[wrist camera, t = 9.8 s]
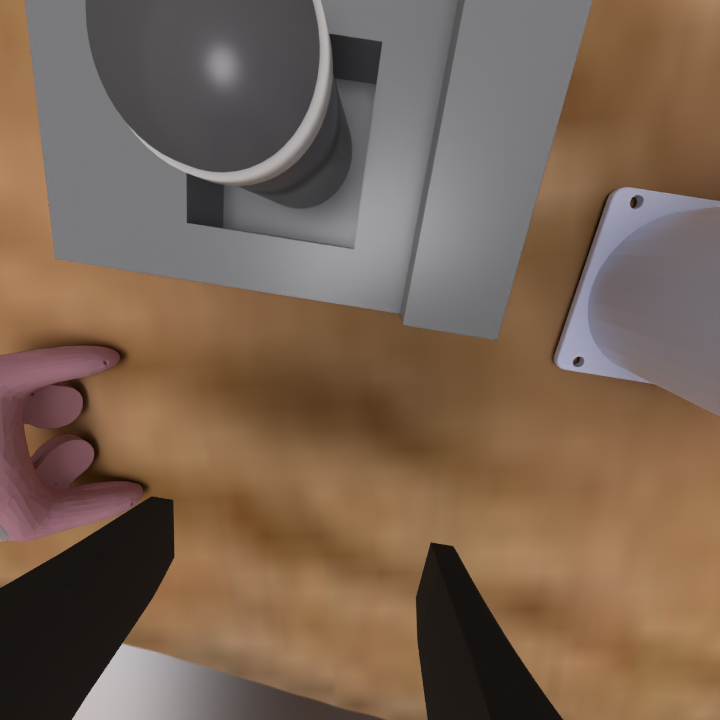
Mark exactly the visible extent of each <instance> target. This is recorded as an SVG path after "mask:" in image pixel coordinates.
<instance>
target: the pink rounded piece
mask: <svg viewBox="0 0 720 720" xmlns="http://www.w3.org/2000/svg"><path fill="white" fill-rule="evenodd" d="M119 360H120V356H119V354H118V352H116V351H115V350H113V349H111V348H107V347H100V346H63V347H54V348H45V349H36V350H29V351H23V352H17V353H11V354H5V355H0V542H1V541H4V540H6V541H16V542H22V541H29V540H34V539H38V538H41V537H45V536H48V535H51V534H55V533H58V532H62V531H65V530H68V529H72V528H75V527H79V526H83V525H86V524H90V523H93V522H97V521H100V520H104V519H107V518H110V517H113V516H115V515H118V514H120V513H122V512H124V511H125V510H127V509H129V508H131V507H132V506H133V505H135V504H136V503H137V502H138V501H139V500H140V499H141V497H142V495H143V489H142V487H141V485H140V484H136V483H133V482H128V481H109V482H98V483H89V484H83V485H76V486H72V485H71V483H72V482H73V481H74V480H75V479H76V478H77V477H78V476H79V475H80V474H82V473H83V472H84V471H85V470H86V469H87V468H88V467H89V466H90V465H91V463H92V461H93V458H94V450H93V448H92V446H91V445H90V444H89V443H88V442H86V441H84V440H83V439H81V438H80V437H78V436H76V435H72V434H63V435H59V436H56V437H54V438H52V439H50V440H49V441H47V442H46V443H44V444H43V445H42V446H41V447H40V448H39V449H38V450H37V451H36V452H35V453H34V454H33V456H32V457H31V458H30V455H29V451H28V446H27V442H26V437H25V431H24V424H23V423H25V424H30V425H33V426H35V427H38V428H46V429H52V428H59V427H62V426H65V425H68V424H70V423H71V422H73V421H74V420H75V419H76V418H77V417H78V416H79V414H80V412H81V410H82V406H83V399H82V396H81V394H80V393H79V392H78V391H77V390H76V389H74V388H73V387H71V386H69V385H67V384H64V383H61V382H62V381H67V380H72V379H77V378H82V377H87V376H92V375H95V374H98V373H100V372H103V371H105V370H108V369H109V368H111V367H113V366H114V365H116V364H117V363H118V362H119Z"/></svg>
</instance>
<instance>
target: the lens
mask: <svg viewBox="0 0 720 720" xmlns="http://www.w3.org/2000/svg"><path fill="white" fill-rule="evenodd" d="M85 8H86V26H87V33H88V39H89V45H90V49H91V53H92V57H93V61H94V64H95V67H96V69H97V72H98V75H99V78H100V80H101V82H102V84H103V86H104V89H105V91H106V93H107V95H108V97H109V98H110V100H111V102H112V103H113V105H114V107H115V108H116V110H117V111H118V112H119V114H120V115H121V116H122V118H123V119H124V120H125V122H126V123H127V124H128V126H129V127H130V128H131V130H132V131H133V132H134V134H135V135H136V136H137V137H138V138H139V139H140V140H141V141H142V143H143V144H144V145H145V146H146V147H147V148H149V149H150V150H151V151H152V152H153V153H154V154H156V155H157V156H158V157H159V158H161V159H162V160H164V161H165V162H167V163H168V164H170V165H171V166H173V167H175V168H177V169H179V170H181V171H183V172H186V173H188V174H191V175H193V176H196V177H199V178H201V179H204V180H207V181H210V182H213V183H217V184H222V185H227V186H238V187H240V188H242V189H245V190H247V191H250V192H252V193H254V194H257V195H259V196H262V197H264V198H266V199H269V200H271V201H274V202H276V203H278V204H281V205H284V206H287V207H291V208H299V209H303V208H310V207H314V206H317V205H319V204H322V203H323V202H325V201H327V200H328V199H329V198H331V197H332V196H333V195H334V194H335V193H336V192H337V191H338V190H339V188H340V187H341V186H342V184H343V182H344V180H345V179H346V176H347V174H348V171H349V168H350V164H351V158H352V140H351V134H350V130H349V127H348V123H347V119H346V116H345V112H344V109H343V105H342V102H341V98H340V95H339V91H338V88H337V84H336V81H335V77H334V74H333V58H332V46H331V41H330V36H329V31H328V26H327V22H326V18H325V14H324V10H323V6H322V3H321V0H86V4H85Z"/></svg>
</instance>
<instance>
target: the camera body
mask: <svg viewBox="0 0 720 720" xmlns="http://www.w3.org/2000/svg"><path fill="white" fill-rule="evenodd" d="M321 3H322V6H323V10H324V14H325V18H326V22H327V26H328V31H329V36H330V41H331V46H332V58H333V74H334V77H335V81H336V84H337V88H338V91H339V95H340V98H341V102H342V105H343V109H344V112H345V116H346V119H347V123H348V127H349V130H350V134H351V140H352V158H351V164H350V168H349V171H348V174H347V176H346V179H345V180H344V182H343V184H342V186H341V187H340V188H339V190H338V191H337V192H336V193H335V194H334V195H333V196H332V197H331V198H329V199H328V200H327V201H325V202H323V203H322V204H319V205H317V206H314V207H310V208H303V209H299V208H291V207H287V206H284V205H281V204H278V203H276V202H274V201H271V200H269V199H266V198H264V197H262V196H259V195H257V194H254V193H252V192H250V191H247V190H245V189H242V188H240V187H238V186H227V185H222V184H217V183H213V182H210V181H207V180H204V179H201V178H199V177H196V176H193V175H191V174H188V173H186V172H183V171H181V170H179V169H177V168H175V167H173V166H171V165H170V164H168V163H167V162H165V161H164V160H162V159H161V158H159V157H158V156H157V155H156V154H154V153H153V152H152V151H151V150H150V149H149V148H147V147H146V146H145V145H144V144H143V143H142V141H141V140H140V139H139V138H138V137H137V136H136V135H135V134H134V132H133V131H132V130H131V128H130V127H129V126H128V124H127V123H126V122H125V120H124V119H123V118H122V116H121V115H120V114H119V112H118V111H117V110H116V108H115V107H114V105H113V103H112V102H111V100H110V98H109V97H108V95H107V93H106V91H105V89H104V86H103V84H102V82H101V80H100V78H99V75H98V72H97V69H96V67H95V64H94V61H93V57H92V53H91V49H90V45H89V39H88V33H87V26H86V8H85V4H86V0H25V6H26V15H27V23H28V32H29V40H30V49H31V57H32V66H33V74H34V83H35V91H36V100H37V108H38V117H39V125H40V134H41V142H42V151H43V159H44V168H45V176H46V185H47V193H48V201H49V210H50V218H51V227H52V235H53V244H54V252H55V259H59V260H65V261H71V262H77V263H84V264H90V265H96V266H103V267H109V268H115V269H121V270H128V271H134V272H140V273H147V274H153V275H159V276H165V277H172V278H178V279H184V280H191V281H197V282H203V283H209V284H216V285H222V286H228V287H235V288H241V289H247V290H253V291H260V292H266V293H272V294H279V295H285V296H291V297H297V298H304V299H310V300H316V301H323V302H329V303H335V304H341V305H348V306H354V307H360V308H367V309H373V310H379V311H385V312H392V313H398V314H400V317H401V321H402V324H403V325H405V326H411V327H417V328H424V329H430V330H436V331H442V332H449V333H455V334H461V335H468V336H474V337H480V338H486V339H493V340H497V338H498V335H499V331H500V327H501V324H502V320H503V317H504V313H505V310H506V306H507V303H508V299H509V295H510V292H511V288H512V285H513V281H514V278H515V274H516V270H517V267H518V263H519V260H520V256H521V253H522V249H523V246H524V242H525V238H526V235H527V231H528V228H529V224H530V221H531V217H532V214H533V210H534V206H535V203H536V199H537V196H538V192H539V189H540V185H541V181H542V178H543V174H544V171H545V167H546V164H547V160H548V157H549V153H550V149H551V146H552V142H553V139H554V135H555V132H556V128H557V124H558V121H559V117H560V114H561V110H562V107H563V103H564V100H565V96H566V92H567V89H568V85H569V82H570V78H571V75H572V71H573V67H574V64H575V60H576V57H577V53H578V50H579V46H580V43H581V39H582V35H583V32H584V28H585V25H586V21H587V18H588V14H589V10H590V7H591V3H592V0H321Z"/></svg>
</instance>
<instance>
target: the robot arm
mask: <svg viewBox="0 0 720 720" xmlns="http://www.w3.org/2000/svg"><path fill="white" fill-rule="evenodd" d="M632 197H635V198H636V200H637V204H636V206H635V207H634V208H631V206H630V201H631V199H632ZM576 357H580V361H579V362H578V363H577V364H573V360H574V359H575V358H576ZM554 363H555V364H556V365H557V366H558V367H559V368H561V369H564V370H569V371H576V372H582V373H588V374H594V375H601V376H607V377H613V378H619V379H626V380H632V381H638V382H644V383H651V384H655V385H657V386H659V387H661V388H663V389H665V390H667V391H669V392H671V393H673V394H675V395H677V396H679V397H681V398H683V399H685V400H687V401H689V402H691V403H693V404H695V405H697V406H699V407H701V408H703V409H705V410H707V411H709V412H711V413H713V414H715V415H717V416H719V417H720V201H715V200H709V199H702V198H696V197H689V196H683V195H677V194H670V193H664V192H657V191H651V190H644V189H638V188H631V187H623V188H619V189H617V190H614V191H613V192H612V193H611V194H610V195H609V197H608V199H607V202H606V205H605V208H604V211H603V214H602V217H601V219H600V222H599V225H598V228H597V231H596V234H595V237H594V240H593V243H592V246H591V249H590V252H589V255H588V258H587V261H586V264H585V267H584V270H583V273H582V276H581V279H580V281H579V284H578V287H577V290H576V293H575V296H574V299H573V302H572V305H571V308H570V311H569V314H568V317H567V320H566V323H565V326H564V329H563V332H562V335H561V338H560V341H559V344H558V346H557V349H556V352H555V355H554ZM173 559H174V514H173V500H170V499H164V498H158V497H150V498H148V499H147V500H145V501H143V502H142V503H140V504H138V505H137V506H135V507H134V508H132V509H131V510H129V511H127V512H126V513H124V514H123V515H121V516H120V517H118V518H116V519H115V520H113V521H112V522H110V523H109V524H107V525H105V526H104V527H102V528H101V529H99V530H98V531H96V532H94V533H93V534H91V535H89V536H88V537H86V538H85V539H83V540H81V541H80V542H78V543H77V544H75V545H73V546H72V547H70V548H69V549H67V550H65V551H64V552H62V553H60V554H59V555H57V556H55V557H53V558H52V559H50V560H48V561H47V562H45V563H43V564H41V565H40V566H38V567H36V568H34V569H33V570H31V571H29V572H28V573H26V574H24V575H22V576H21V577H19V578H17V579H15V580H14V581H12V582H10V583H9V584H7V585H5V586H3V587H1V588H0V720H72V718H73V717H74V715H75V713H76V712H77V710H78V709H79V707H80V706H81V704H82V702H83V701H84V699H85V698H86V696H87V695H88V693H89V692H90V690H91V689H92V687H93V686H94V684H95V683H96V682H97V680H98V679H99V677H100V675H101V674H102V673H103V671H104V669H105V668H106V667H107V665H108V664H109V662H110V660H111V659H112V658H113V656H114V655H115V653H116V652H117V650H118V649H119V647H120V646H121V644H122V643H123V641H124V640H125V639H126V637H127V636H128V634H129V633H130V631H131V630H132V628H133V627H134V625H135V624H136V622H137V621H138V619H139V618H140V616H141V615H142V613H143V612H144V610H145V609H146V607H147V606H148V604H149V603H150V601H151V599H152V598H153V596H154V594H155V593H156V591H157V589H158V587H159V585H160V583H161V582H162V580H163V578H164V576H165V574H166V572H167V570H168V568H169V566H170V564H171V563H172V561H173ZM416 612H417V639H418V649H419V657H420V664H421V672H422V680H423V687H424V695H425V702H426V710H427V717H428V720H563V719H562V717H561V716H560V715H559V713H558V712H557V711H556V709H555V708H554V707H553V705H552V704H551V703H550V701H549V700H548V698H547V697H546V696H545V694H544V693H543V691H542V690H541V688H540V687H539V686H538V684H537V683H536V681H535V680H534V678H533V677H532V675H531V674H530V672H529V671H528V669H527V668H526V666H525V665H524V664H523V662H522V661H521V659H520V658H519V656H518V655H517V653H516V651H515V650H514V648H513V647H512V645H511V644H510V642H509V641H508V639H507V638H506V636H505V634H504V633H503V631H502V629H501V628H500V626H499V625H498V623H497V621H496V620H495V618H494V616H493V615H492V613H491V612H490V610H489V608H488V607H487V605H486V603H485V601H484V600H483V598H482V596H481V595H480V593H479V591H478V589H477V588H476V586H475V584H474V582H473V581H472V579H471V577H470V575H469V573H468V572H467V570H466V568H465V566H464V564H463V563H462V561H461V559H460V557H459V555H458V553H457V552H456V550H455V548H454V547H453V546H449V545H443V544H437V543H431V544H430V548H429V551H428V555H427V559H426V562H425V566H424V570H423V573H422V577H421V581H420V585H419V588H418V592H417V596H416Z"/></svg>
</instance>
